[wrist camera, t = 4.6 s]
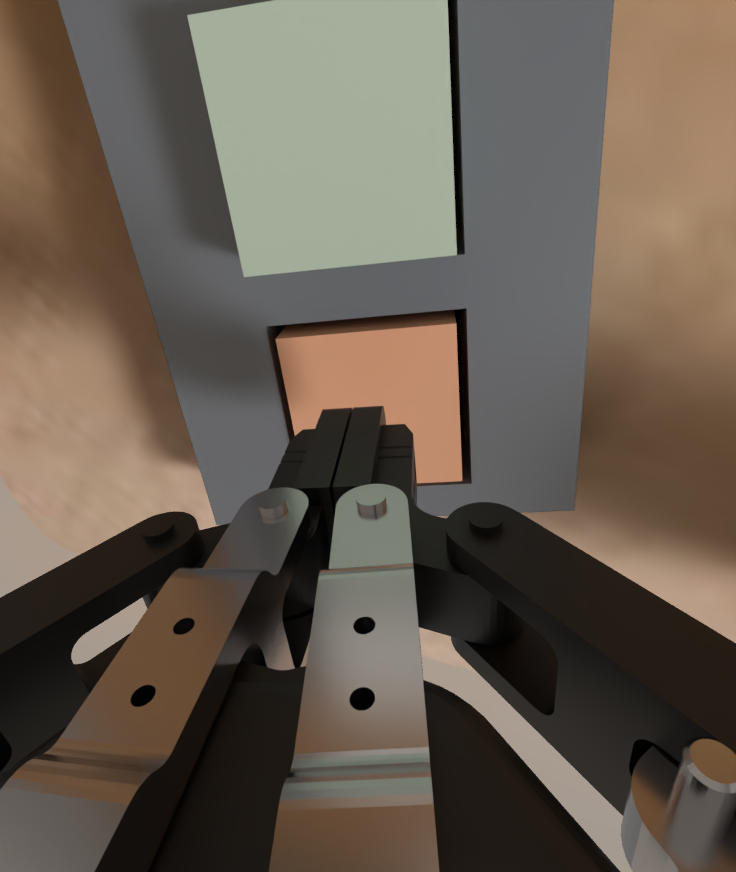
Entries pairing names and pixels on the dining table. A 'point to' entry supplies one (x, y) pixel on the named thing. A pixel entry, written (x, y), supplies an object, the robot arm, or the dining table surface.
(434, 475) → the terracotta button
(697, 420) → the dining table surface
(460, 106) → the button panel
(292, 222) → the sage button
